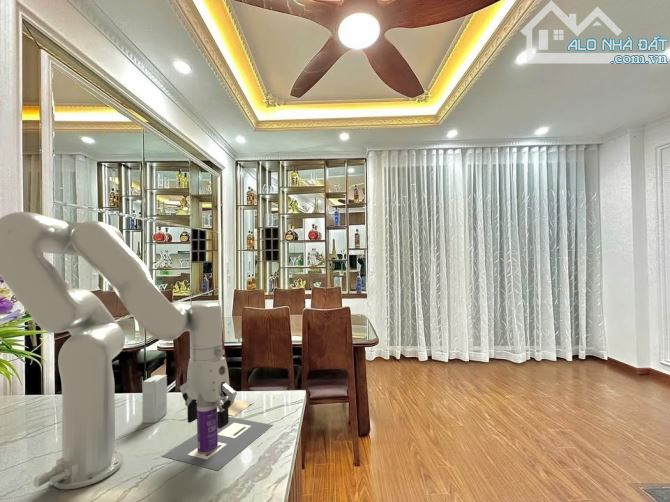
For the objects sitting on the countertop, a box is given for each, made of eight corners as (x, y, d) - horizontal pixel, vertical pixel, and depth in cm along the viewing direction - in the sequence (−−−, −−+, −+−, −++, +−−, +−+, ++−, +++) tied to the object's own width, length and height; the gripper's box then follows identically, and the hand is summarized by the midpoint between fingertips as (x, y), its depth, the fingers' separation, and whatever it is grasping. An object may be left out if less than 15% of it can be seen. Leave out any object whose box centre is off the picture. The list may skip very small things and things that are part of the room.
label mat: (217, 470, 73) (217, 470, 73) (161, 456, 80) (161, 455, 80) (272, 425, 93) (272, 424, 93) (224, 416, 100) (224, 415, 100)
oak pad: (233, 416, 100) (233, 415, 100) (207, 411, 104) (207, 411, 104) (253, 402, 109) (253, 402, 109) (229, 399, 113) (229, 398, 113)
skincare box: (154, 413, 103) (153, 374, 104) (167, 413, 103) (167, 374, 103) (141, 423, 97) (141, 381, 97) (156, 423, 97) (155, 381, 97)
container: (211, 455, 79) (209, 391, 80) (193, 453, 80) (192, 390, 81) (221, 444, 84) (220, 384, 84) (204, 443, 85) (203, 383, 85)
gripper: (244, 351, 83) (246, 421, 82) (191, 347, 90) (193, 411, 89) (223, 359, 76) (225, 436, 75) (168, 354, 83) (169, 424, 82)
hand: (208, 423), depth 82 cm, fingers open, 9 cm apart
